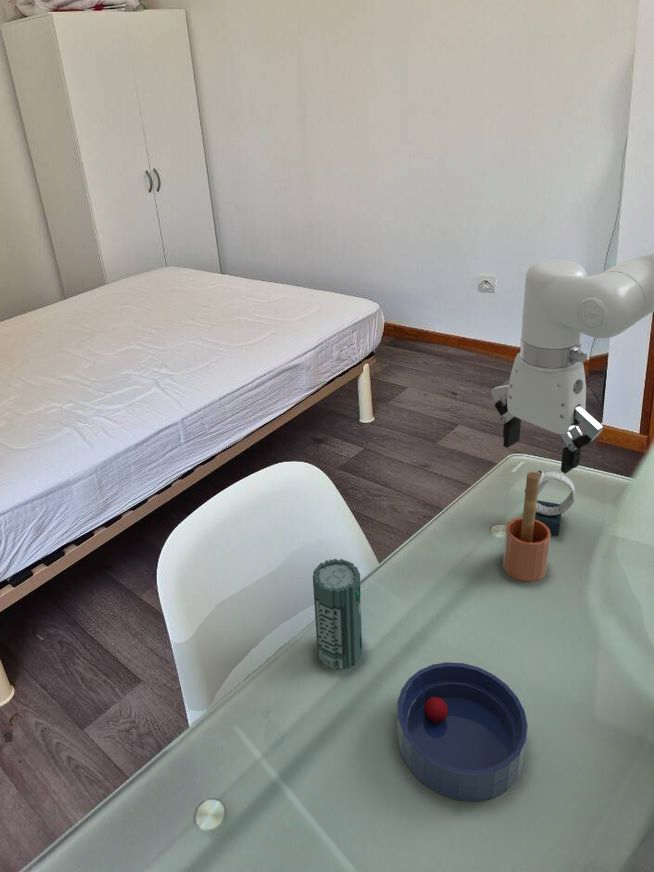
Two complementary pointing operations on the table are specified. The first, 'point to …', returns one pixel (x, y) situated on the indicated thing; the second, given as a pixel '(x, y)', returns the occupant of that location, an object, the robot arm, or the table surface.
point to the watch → (552, 511)
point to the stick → (529, 506)
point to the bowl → (462, 732)
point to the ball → (436, 709)
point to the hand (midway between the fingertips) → (539, 456)
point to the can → (338, 613)
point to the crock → (526, 551)
